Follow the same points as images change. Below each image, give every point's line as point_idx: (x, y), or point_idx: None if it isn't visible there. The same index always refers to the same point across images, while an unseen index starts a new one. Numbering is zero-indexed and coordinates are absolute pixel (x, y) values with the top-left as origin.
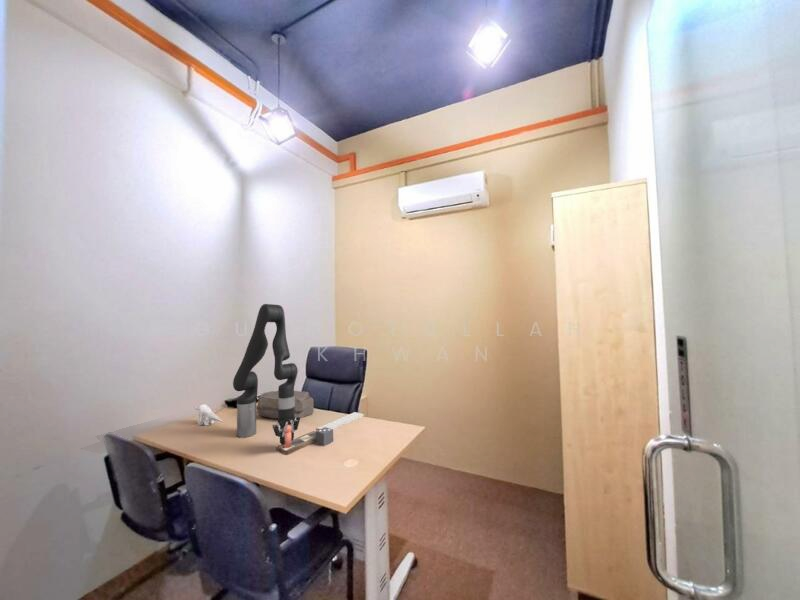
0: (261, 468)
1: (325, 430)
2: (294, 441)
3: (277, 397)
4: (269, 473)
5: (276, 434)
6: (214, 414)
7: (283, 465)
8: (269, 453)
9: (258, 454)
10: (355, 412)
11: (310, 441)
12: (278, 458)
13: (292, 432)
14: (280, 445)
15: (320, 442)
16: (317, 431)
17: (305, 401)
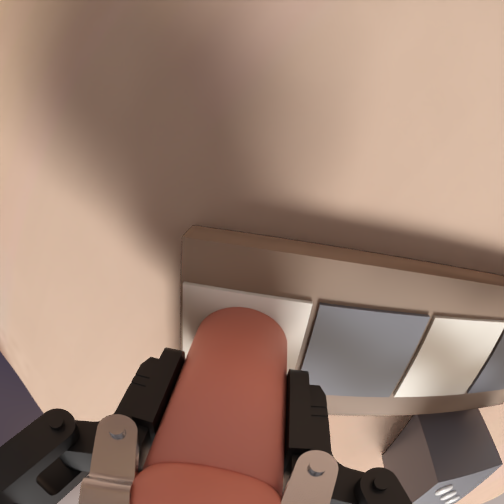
0: (25, 333)
1: (445, 497)
2: (366, 332)
3: None
4: (45, 389)
5: (46, 436)
6: None
7: (109, 411)
8: (116, 223)
9: (62, 148)
10: None
11: (404, 413)
12: (121, 350)
13: (283, 487)
14: (228, 257)
15: (398, 451)
16: (430, 490)
17: None
